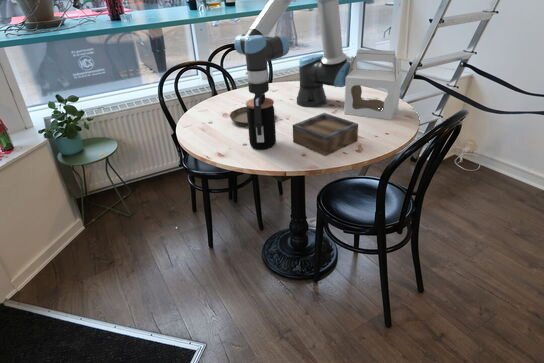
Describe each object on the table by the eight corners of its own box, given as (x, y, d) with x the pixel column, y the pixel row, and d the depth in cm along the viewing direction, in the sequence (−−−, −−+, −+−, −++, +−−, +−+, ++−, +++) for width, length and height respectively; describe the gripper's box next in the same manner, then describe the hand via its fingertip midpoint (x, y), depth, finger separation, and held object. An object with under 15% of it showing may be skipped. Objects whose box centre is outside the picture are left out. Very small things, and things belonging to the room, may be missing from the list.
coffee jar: (279, 140, 154) (277, 98, 145) (271, 151, 145) (268, 107, 136) (255, 138, 157) (251, 96, 148) (245, 149, 149) (241, 105, 139)
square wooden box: (324, 129, 161) (324, 112, 157) (357, 141, 149) (358, 123, 145) (293, 142, 152) (292, 124, 148) (325, 156, 139) (326, 137, 136)
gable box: (343, 114, 175) (346, 52, 161) (352, 105, 185) (355, 46, 171) (392, 120, 166) (399, 55, 151) (398, 110, 175) (405, 48, 161)
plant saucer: (269, 129, 166) (268, 122, 164) (224, 127, 170) (223, 121, 168) (277, 112, 183) (277, 105, 181) (237, 111, 187) (236, 105, 185)
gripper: (252, 72, 148) (256, 124, 159) (242, 90, 129) (248, 148, 140) (271, 72, 147) (274, 124, 159) (264, 90, 128) (268, 148, 139)
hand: (262, 135), depth 149 cm, fingers closed on coffee jar, 11 cm apart
